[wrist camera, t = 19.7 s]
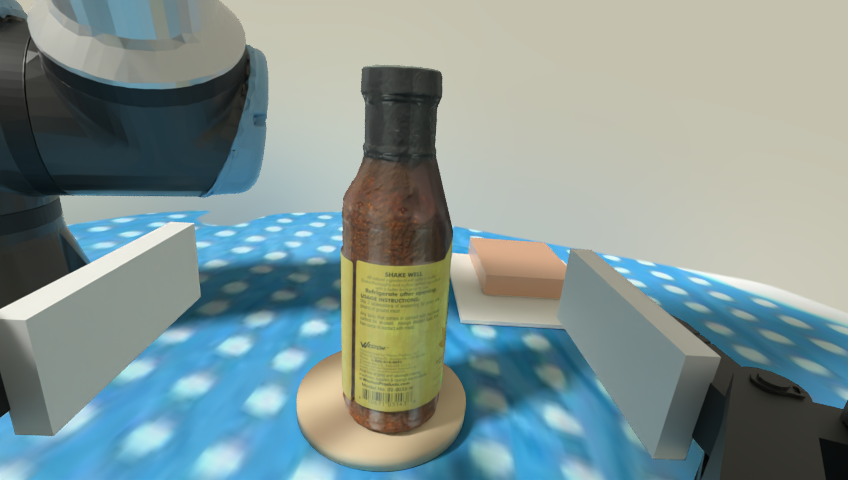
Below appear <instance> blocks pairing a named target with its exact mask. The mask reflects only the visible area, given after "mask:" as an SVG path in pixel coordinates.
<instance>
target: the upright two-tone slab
mask: <svg viewBox="0 0 848 480" xmlns="http://www.w3.org/2000/svg"><path fill="white" fill-rule="evenodd" d="M468 254H469V256H470V259H471V261H472V264H473V267H474V269H475V272H476V275H477V277H478V280H479V282H480V285H481V288H482V290H483V293H484V294H485V295H495V296H511V297H528V298H544V299H560V298H561V293H562V288H563V283H564V278H565V273H566V268H567V266H566V265H565V264H564V263H563V262H562V261H561V260H560V259H559V258H558V256H557V255H556V254H555V253H554V252H553V251H552V250H551V249H550V248H549V247H548V246H547V245H546V244H545V243H541V242H527V241H512V240H498V239H483V238H470V244H469V252H468Z"/></svg>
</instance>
